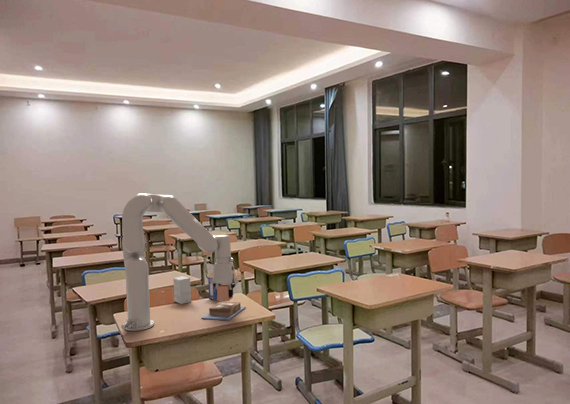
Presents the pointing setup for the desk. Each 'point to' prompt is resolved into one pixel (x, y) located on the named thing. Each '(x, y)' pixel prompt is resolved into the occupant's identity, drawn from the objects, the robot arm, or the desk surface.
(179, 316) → the desk surface
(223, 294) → the terracotta block
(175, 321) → the desk surface
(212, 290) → the walkman
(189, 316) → the desk surface
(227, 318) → the board
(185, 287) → the small box
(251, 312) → the desk surface
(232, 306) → the walnut base block
